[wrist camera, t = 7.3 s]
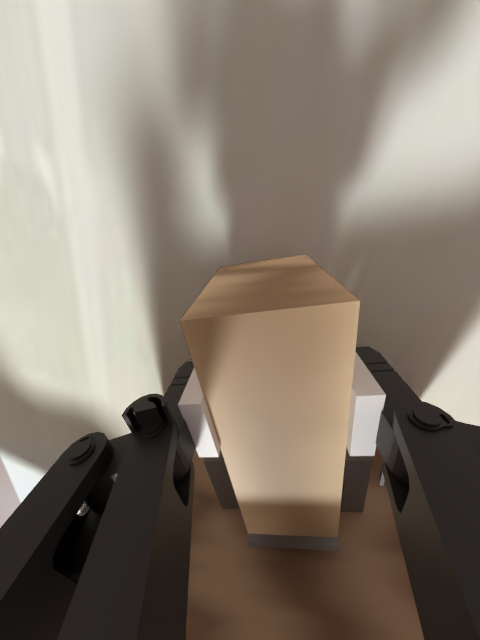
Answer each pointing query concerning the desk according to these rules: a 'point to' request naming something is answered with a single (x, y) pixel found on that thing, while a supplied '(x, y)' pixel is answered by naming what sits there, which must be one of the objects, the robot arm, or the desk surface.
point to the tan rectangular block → (279, 392)
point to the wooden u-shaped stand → (298, 568)
